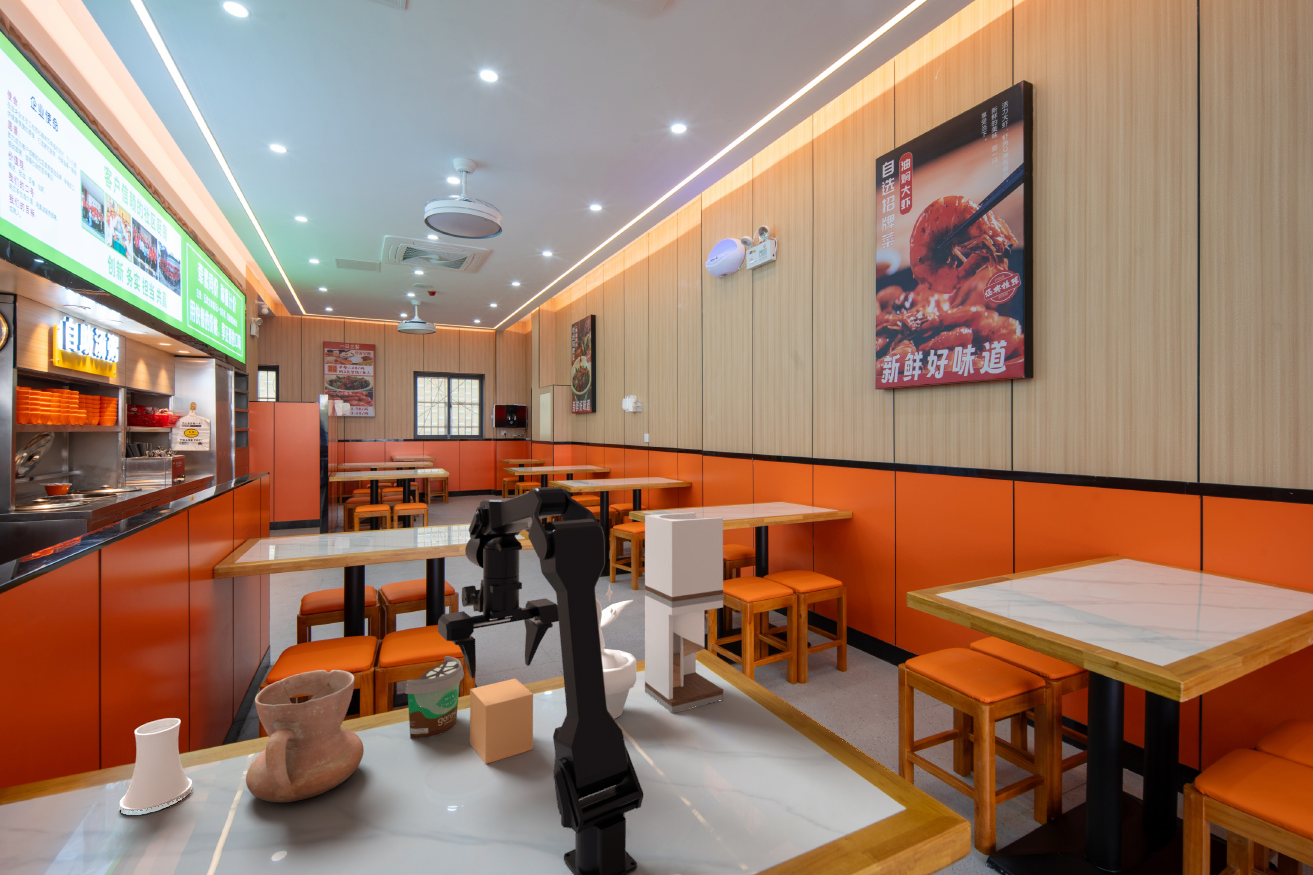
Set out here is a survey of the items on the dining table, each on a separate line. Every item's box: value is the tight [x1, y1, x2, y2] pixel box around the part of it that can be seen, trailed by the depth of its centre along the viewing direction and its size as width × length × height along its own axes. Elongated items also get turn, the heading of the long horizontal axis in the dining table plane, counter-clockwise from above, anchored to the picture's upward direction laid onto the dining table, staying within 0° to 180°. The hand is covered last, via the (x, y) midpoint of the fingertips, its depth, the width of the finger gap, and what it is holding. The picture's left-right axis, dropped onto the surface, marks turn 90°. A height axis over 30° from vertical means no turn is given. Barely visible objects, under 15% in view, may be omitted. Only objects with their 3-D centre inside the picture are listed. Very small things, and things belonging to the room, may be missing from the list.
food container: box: [404, 655, 465, 739], centre depth 101 cm, size 12×6×10 cm, turn 168°
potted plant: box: [596, 583, 637, 720], centre depth 106 cm, size 13×12×25 cm
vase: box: [119, 717, 193, 811], centre depth 80 cm, size 8×8×10 cm
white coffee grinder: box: [644, 512, 724, 714], centre depth 114 cm, size 11×11×35 cm
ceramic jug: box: [245, 669, 365, 803], centre depth 83 cm, size 18×14×14 cm
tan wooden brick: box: [469, 678, 534, 765], centre depth 94 cm, size 8×8×9 cm
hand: (500, 670), depth 95 cm, fingers open, 9 cm apart
